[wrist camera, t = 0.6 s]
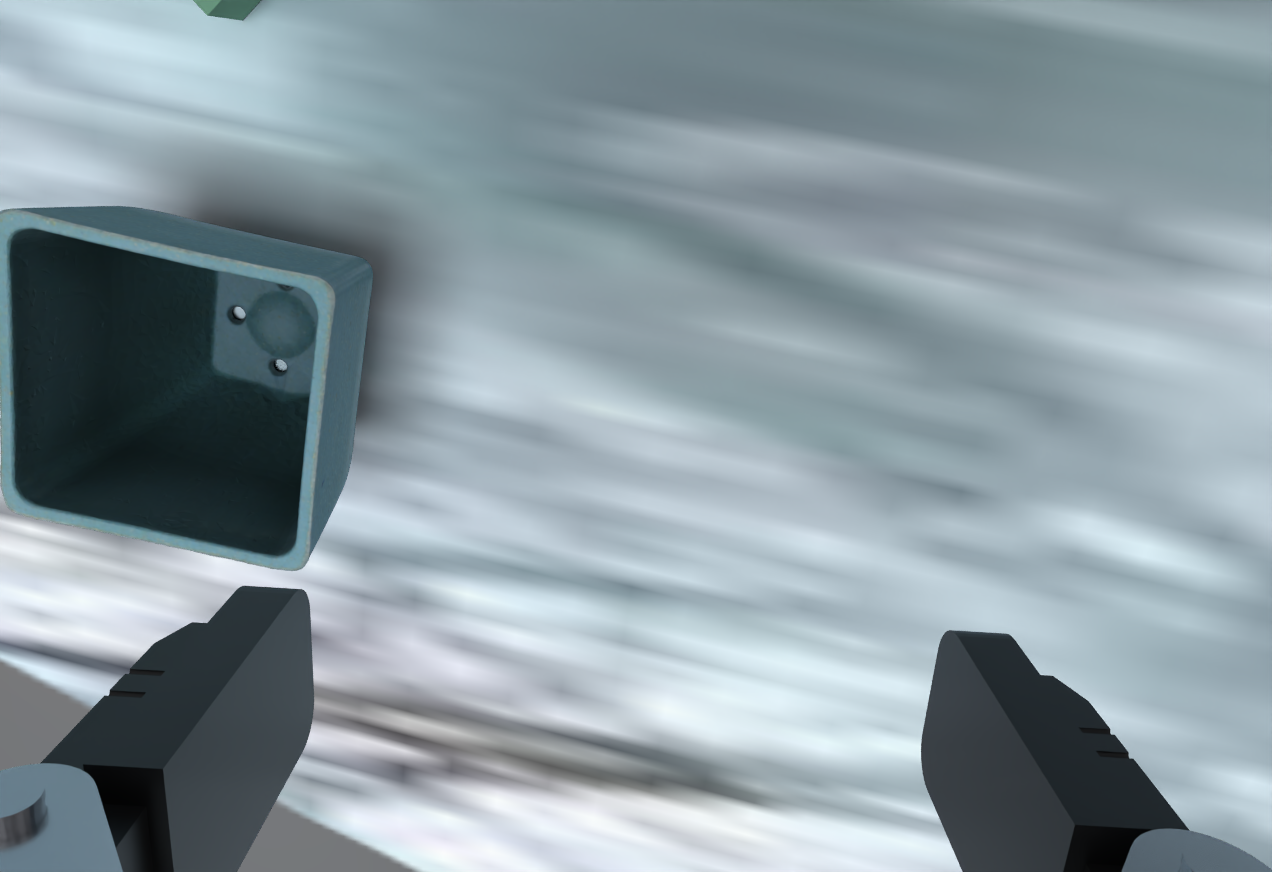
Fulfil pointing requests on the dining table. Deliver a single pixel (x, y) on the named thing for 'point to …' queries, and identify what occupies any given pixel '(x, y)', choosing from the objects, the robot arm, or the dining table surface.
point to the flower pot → (177, 379)
